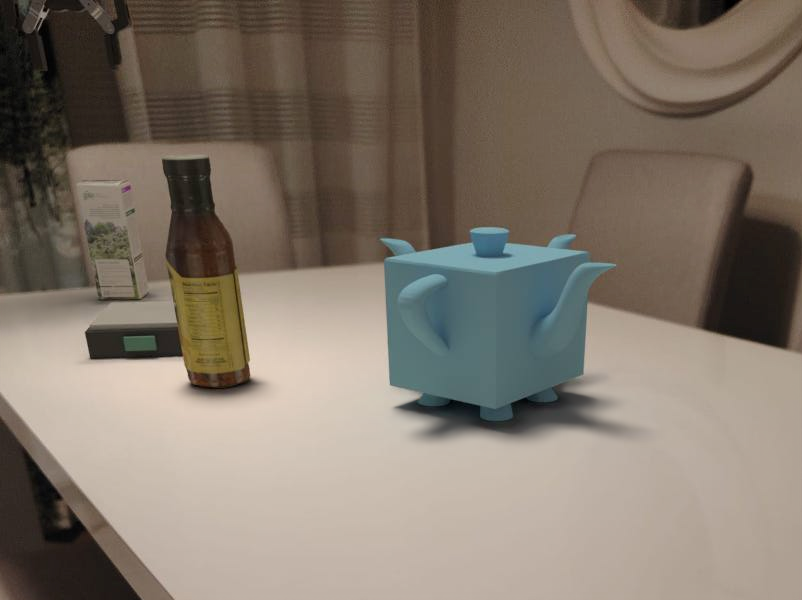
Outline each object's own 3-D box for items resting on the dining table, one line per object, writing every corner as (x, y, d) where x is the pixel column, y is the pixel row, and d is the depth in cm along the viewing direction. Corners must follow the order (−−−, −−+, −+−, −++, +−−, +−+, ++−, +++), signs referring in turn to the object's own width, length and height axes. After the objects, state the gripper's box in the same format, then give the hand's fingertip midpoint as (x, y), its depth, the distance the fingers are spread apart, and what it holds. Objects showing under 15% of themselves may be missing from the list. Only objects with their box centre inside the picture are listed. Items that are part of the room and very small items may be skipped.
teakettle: (396, 435, 78) (388, 245, 71) (384, 375, 94) (376, 216, 87) (616, 426, 81) (631, 241, 73) (567, 369, 96) (575, 213, 89)
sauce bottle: (209, 371, 96) (178, 152, 85) (264, 376, 94) (238, 153, 84) (172, 388, 90) (134, 156, 80) (230, 393, 89) (198, 158, 78)
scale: (88, 360, 100) (82, 327, 98) (112, 331, 111) (107, 301, 109) (195, 356, 101) (190, 323, 99) (207, 328, 112) (203, 299, 111)
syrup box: (150, 292, 133) (131, 178, 125) (140, 300, 128) (119, 182, 120) (109, 292, 132) (87, 178, 125) (97, 300, 127) (73, 182, 120)
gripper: (117, -87, 113) (142, 71, 121) (-8, -89, 111) (26, 71, 119) (105, -97, 106) (132, 70, 115) (-27, -100, 105) (10, 70, 113)
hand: (78, 70), depth 117 cm, fingers open, 8 cm apart
